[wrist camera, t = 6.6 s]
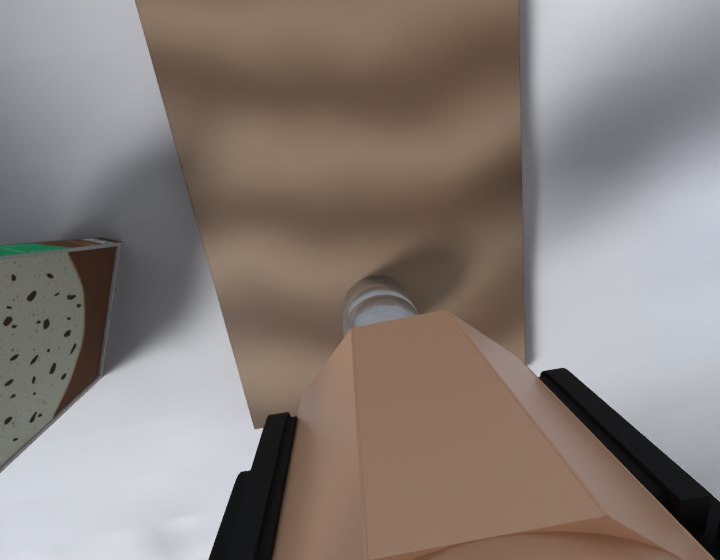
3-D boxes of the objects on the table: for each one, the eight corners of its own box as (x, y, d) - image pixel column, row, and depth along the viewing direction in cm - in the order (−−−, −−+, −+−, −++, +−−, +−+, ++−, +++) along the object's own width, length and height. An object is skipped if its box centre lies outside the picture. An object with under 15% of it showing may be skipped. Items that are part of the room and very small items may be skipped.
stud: (422, 299, 21) (450, 338, 16) (383, 349, 22) (398, 404, 16) (367, 263, 20) (378, 292, 15) (329, 317, 21) (326, 363, 15)
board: (138, -36, 17) (119, -57, 15) (501, -90, 17) (516, -115, 16) (259, 414, 24) (254, 429, 23) (514, 372, 24) (525, 384, 23)
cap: (563, 387, 10) (964, 768, 4) (432, 525, 12) (553, 989, 5) (391, 271, 9) (530, 541, 2) (266, 443, 10) (131, 920, 4)
